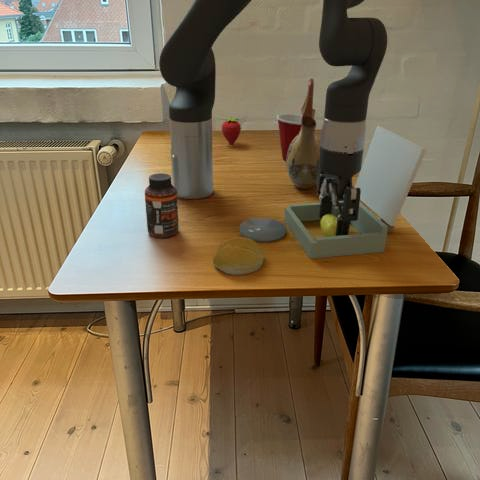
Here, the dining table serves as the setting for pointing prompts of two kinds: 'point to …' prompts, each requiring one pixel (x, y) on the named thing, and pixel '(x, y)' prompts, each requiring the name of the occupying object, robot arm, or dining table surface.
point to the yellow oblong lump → (329, 225)
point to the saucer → (262, 229)
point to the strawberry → (231, 130)
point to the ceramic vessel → (305, 147)
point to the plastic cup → (288, 130)
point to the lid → (388, 173)
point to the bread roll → (239, 256)
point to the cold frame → (365, 242)
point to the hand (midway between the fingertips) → (332, 227)
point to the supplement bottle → (161, 206)
